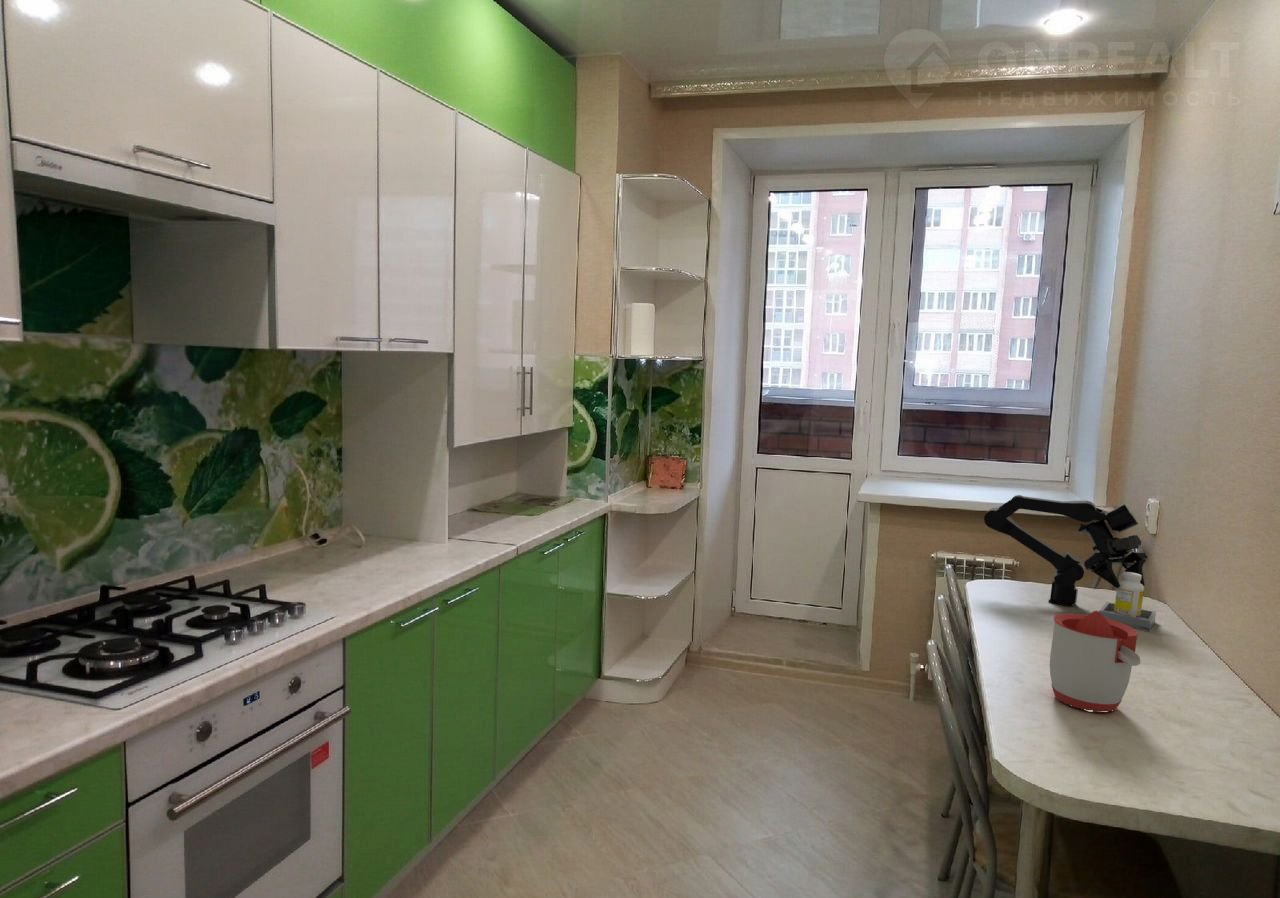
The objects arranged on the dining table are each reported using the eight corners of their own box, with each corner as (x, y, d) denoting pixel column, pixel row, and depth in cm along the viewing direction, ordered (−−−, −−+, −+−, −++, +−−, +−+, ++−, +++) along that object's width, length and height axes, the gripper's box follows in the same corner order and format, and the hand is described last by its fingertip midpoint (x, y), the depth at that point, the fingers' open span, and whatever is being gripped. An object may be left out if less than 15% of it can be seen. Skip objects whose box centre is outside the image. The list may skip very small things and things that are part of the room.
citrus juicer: (1103, 727, 168) (1116, 628, 166) (1027, 693, 184) (1039, 602, 181) (1151, 716, 176) (1165, 621, 173) (1075, 684, 191) (1086, 597, 188)
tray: (1097, 620, 242) (1099, 610, 242) (1105, 611, 252) (1106, 601, 252) (1149, 631, 235) (1150, 621, 234) (1154, 622, 245) (1156, 611, 245)
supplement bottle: (1133, 615, 246) (1139, 572, 245) (1144, 622, 240) (1150, 578, 238) (1108, 613, 247) (1114, 569, 246) (1119, 620, 240) (1125, 575, 239)
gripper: (1097, 525, 242) (1126, 573, 233) (1146, 524, 248) (1176, 572, 239) (1072, 545, 250) (1098, 593, 241) (1120, 544, 257) (1147, 591, 248)
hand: (1130, 586), depth 242 cm, fingers open, 9 cm apart
